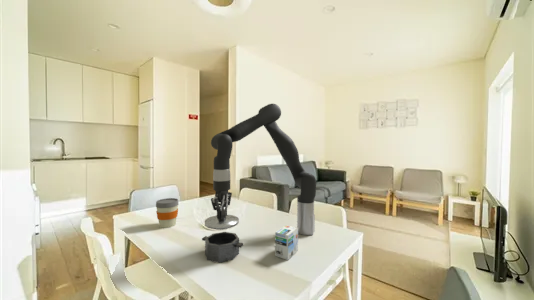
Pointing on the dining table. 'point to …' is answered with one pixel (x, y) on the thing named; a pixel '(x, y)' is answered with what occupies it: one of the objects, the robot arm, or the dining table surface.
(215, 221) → the lid
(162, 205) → the reusable coffee cup
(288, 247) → the light bulb box
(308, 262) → the dining table surface
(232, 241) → the pot
